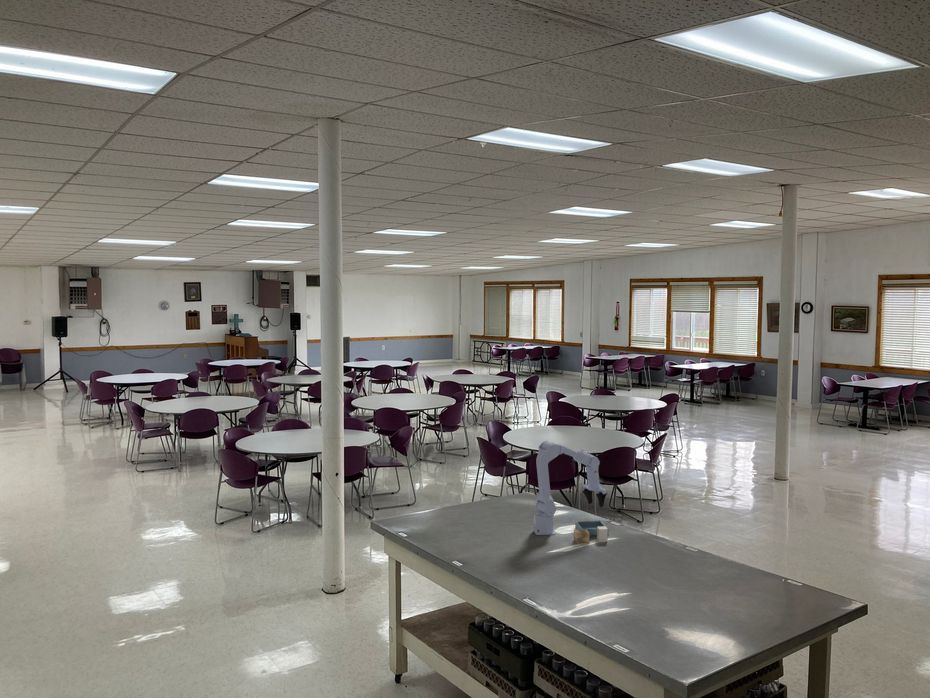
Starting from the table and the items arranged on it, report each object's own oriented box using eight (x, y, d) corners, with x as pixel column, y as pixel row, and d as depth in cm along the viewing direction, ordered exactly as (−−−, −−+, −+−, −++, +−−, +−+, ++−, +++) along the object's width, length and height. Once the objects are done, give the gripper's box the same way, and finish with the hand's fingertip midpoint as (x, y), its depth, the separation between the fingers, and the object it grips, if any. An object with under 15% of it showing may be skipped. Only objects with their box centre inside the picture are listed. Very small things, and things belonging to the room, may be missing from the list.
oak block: (576, 543, 313) (576, 533, 313) (574, 540, 318) (574, 529, 318) (589, 543, 314) (589, 532, 313) (586, 539, 319) (586, 529, 318)
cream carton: (599, 541, 316) (599, 529, 315) (596, 539, 320) (596, 526, 319) (607, 541, 316) (607, 528, 315) (605, 538, 320) (605, 526, 319)
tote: (581, 536, 323) (581, 529, 322) (575, 528, 336) (575, 521, 335) (608, 536, 323) (608, 528, 323) (601, 527, 336) (601, 520, 336)
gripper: (609, 479, 336) (612, 505, 337) (588, 474, 348) (591, 499, 349) (599, 483, 332) (602, 509, 333) (578, 477, 344) (581, 503, 345)
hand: (596, 504), depth 341 cm, fingers open, 7 cm apart
